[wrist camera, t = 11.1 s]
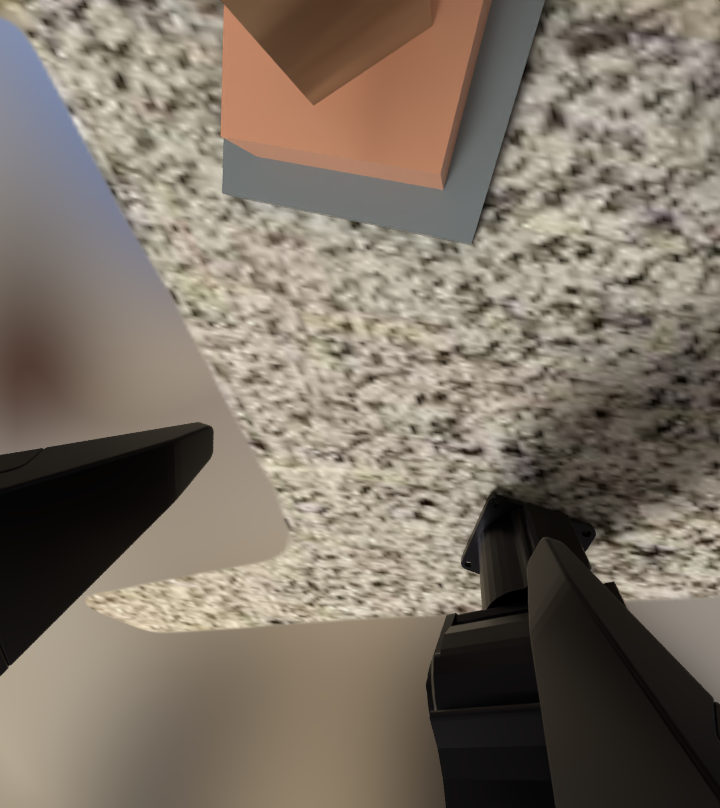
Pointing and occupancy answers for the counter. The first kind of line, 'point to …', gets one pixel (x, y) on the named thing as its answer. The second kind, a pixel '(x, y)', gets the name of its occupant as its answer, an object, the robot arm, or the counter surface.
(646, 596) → the counter surface
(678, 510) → the counter surface
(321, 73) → the walnut brick
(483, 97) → the pink grey stepped block
